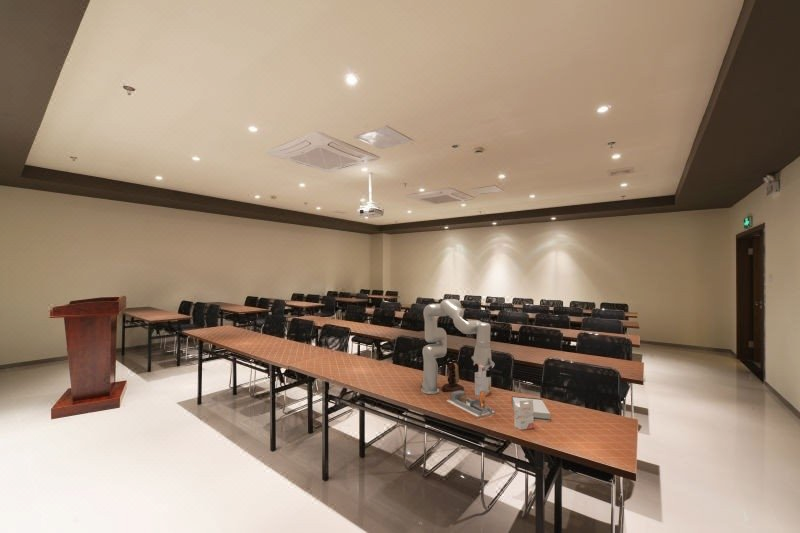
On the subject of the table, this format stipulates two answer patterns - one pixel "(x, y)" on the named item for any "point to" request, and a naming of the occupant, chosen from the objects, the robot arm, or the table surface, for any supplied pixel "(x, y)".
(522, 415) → the ink cartridge box
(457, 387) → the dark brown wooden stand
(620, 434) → the table surface
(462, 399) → the nut
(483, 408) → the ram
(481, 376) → the cracker box
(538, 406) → the disc drive
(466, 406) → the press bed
